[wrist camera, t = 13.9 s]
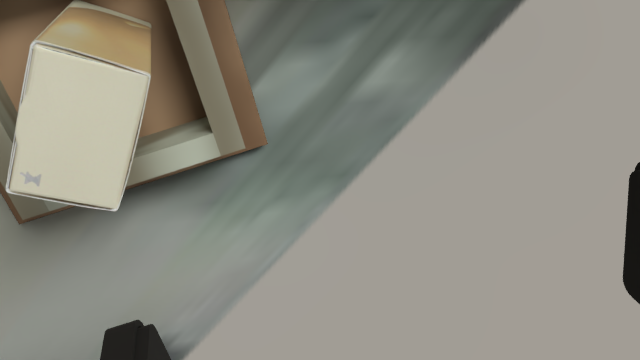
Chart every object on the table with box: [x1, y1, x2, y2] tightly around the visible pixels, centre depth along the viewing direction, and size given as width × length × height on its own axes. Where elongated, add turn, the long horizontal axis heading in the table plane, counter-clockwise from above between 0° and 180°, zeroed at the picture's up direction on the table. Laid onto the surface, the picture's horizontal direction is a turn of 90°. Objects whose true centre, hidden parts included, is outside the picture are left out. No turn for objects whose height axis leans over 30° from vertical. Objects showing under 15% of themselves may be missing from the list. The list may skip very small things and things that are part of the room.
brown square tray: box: [0, 0, 268, 224], centre depth 31 cm, size 16×16×4 cm
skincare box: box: [6, 0, 151, 211], centre depth 27 cm, size 6×4×12 cm
